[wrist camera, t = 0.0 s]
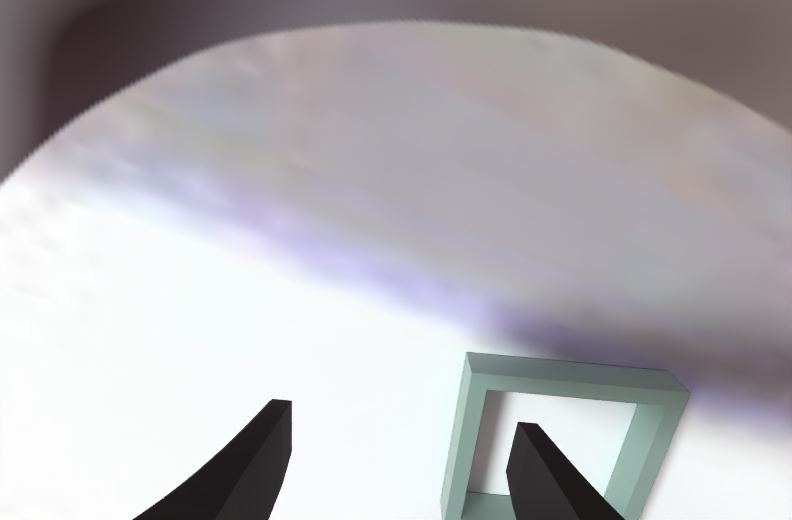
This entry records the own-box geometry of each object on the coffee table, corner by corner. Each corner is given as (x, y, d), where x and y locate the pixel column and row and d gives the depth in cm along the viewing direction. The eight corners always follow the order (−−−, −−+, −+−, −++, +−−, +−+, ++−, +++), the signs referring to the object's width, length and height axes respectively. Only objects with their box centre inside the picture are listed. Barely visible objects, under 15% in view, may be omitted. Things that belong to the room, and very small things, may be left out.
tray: (611, 516, 27) (627, 545, 25) (440, 500, 27) (443, 529, 25) (667, 370, 23) (690, 392, 21) (466, 352, 23) (471, 372, 21)
